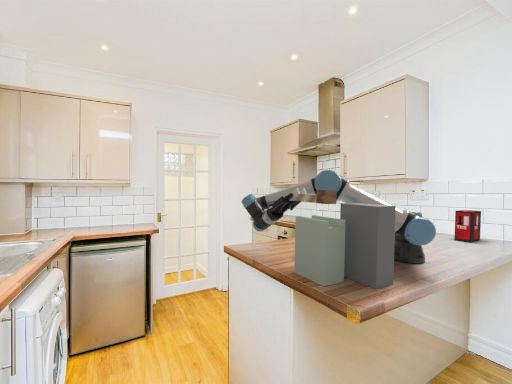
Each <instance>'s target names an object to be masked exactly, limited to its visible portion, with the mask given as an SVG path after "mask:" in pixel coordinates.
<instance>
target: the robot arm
mask: <svg viewBox="0 0 512 384" xmlns="http://www.w3.org/2000/svg"><path fill="white" fill-rule="evenodd" d="M317 190H337V197H336V203H337V202H344V203H364V204H377V205H390V206H392V205H391V204H389V203H387V202H386V201H384V200H382V199H380V198H378V197H376V196H374V195H372V194H370V193H368V192H366V191H364V190H362V189H360V188H358V187H357V186H354V185H352V184H351V182H350V179H348V178H346V177H344V176H342V175H341V174H339V173H338V172H336V171H335V170H332V169H325V170H322V171H320V172H319V173H317V175H316V177H313V178H310V179H309V181H307V182H303V183H300V184H297V185H294V186H291V187H288V188H285V189H281V190H279V191H276V192H271V193H269V194H265V195H263V196H260V197H256V196H255V195H254V194H253V193H249V194H247V195H246V196H244V197H243V198H242V199H241V204H242V206H243V208H244V209H245V210H246V212H247V213H248V215H249V216H250V217H251V218H252V220H253V221H252V227H253V229H254V230H255V231H257V232H259V233H260V232H264V231H265V230H267V229H268V228H270V227H271V226H273V225H274V224H275V223H276V222H278V221H279V220H280V219H281V218H283V217H284V213H286V212H287V211H288V210H290V211H293V210H294V209H295V208H296V207H297V206H298V205H299V204H300V203H301V201H292V200H293V199H294V198H296V197H297V196H298V195H299V194H314V195H317ZM286 193H290V194H289V195H288V196H286ZM436 234H437V229H436V226H435V224H434V223H433V222H432V221H431V220H430V219H428V218H425V217H423V213H422V212H420V211H411V210H408V209H402V210H401V209H399V208H398V207H396V210H395V243H394V261H397V262H401V263H402V262H403V263H407V264H423V263H425V262H426V255H425V252H424V249H423V246H426V245H428V244H429V243H431V242H432V241H434V239H435V237H436Z"/></svg>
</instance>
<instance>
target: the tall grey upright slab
mask: <svg viewBox="0 0 512 384" xmlns="http://www.w3.org/2000/svg"><path fill="white" fill-rule="evenodd" d="M390 205H391V204H389V205H377V204H364V203H345V202H344V203H341V202H340V209H339V210H340V213H339V215H340V217H339V219H343V220H346V222H345V261H344V278H346V279H349V280H351V281H355V282H357V283H359V284H362V285H364V286H367V287H370V288H371V289H375V290H377V289H381V288H384V287H388V286H391V285H394V277H395V276H394V273H395V271H394V270H395V266H394V265H395V260H394V243H395V210H396V208H397V206H396V205H391V206H390Z"/></svg>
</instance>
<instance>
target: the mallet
mask: <svg viewBox="0 0 512 384" xmlns="http://www.w3.org/2000/svg"><path fill="white" fill-rule="evenodd" d="M289 194H290V193H286V196H288V195H289ZM336 197H337V190H317V195H314V194H299V195H298V196H297V197H296V198H294V199H293V200H292V201H301V202H304V203H313V204H320V205H337V202H336ZM301 202H300V203H301Z"/></svg>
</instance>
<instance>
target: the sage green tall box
mask: <svg viewBox="0 0 512 384" xmlns="http://www.w3.org/2000/svg"><path fill="white" fill-rule="evenodd" d="M345 222H346V220H343V219H340V218H336V217H328V216H321V215H316V214H315V215H314V214H312V215H311V217H306V216H300V215H295V226H294V227H295V229H294V231H295V233H294V271H293V272H294V273H295V274H297V275H298V276H301V277H303V278H305V279H308V280H310V281H312V282H313V283H316V284H318V285H320V286H322V287H327V286H331V285H336V284H339V283H343V282H344V281H345V277H344V261H345Z"/></svg>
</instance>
